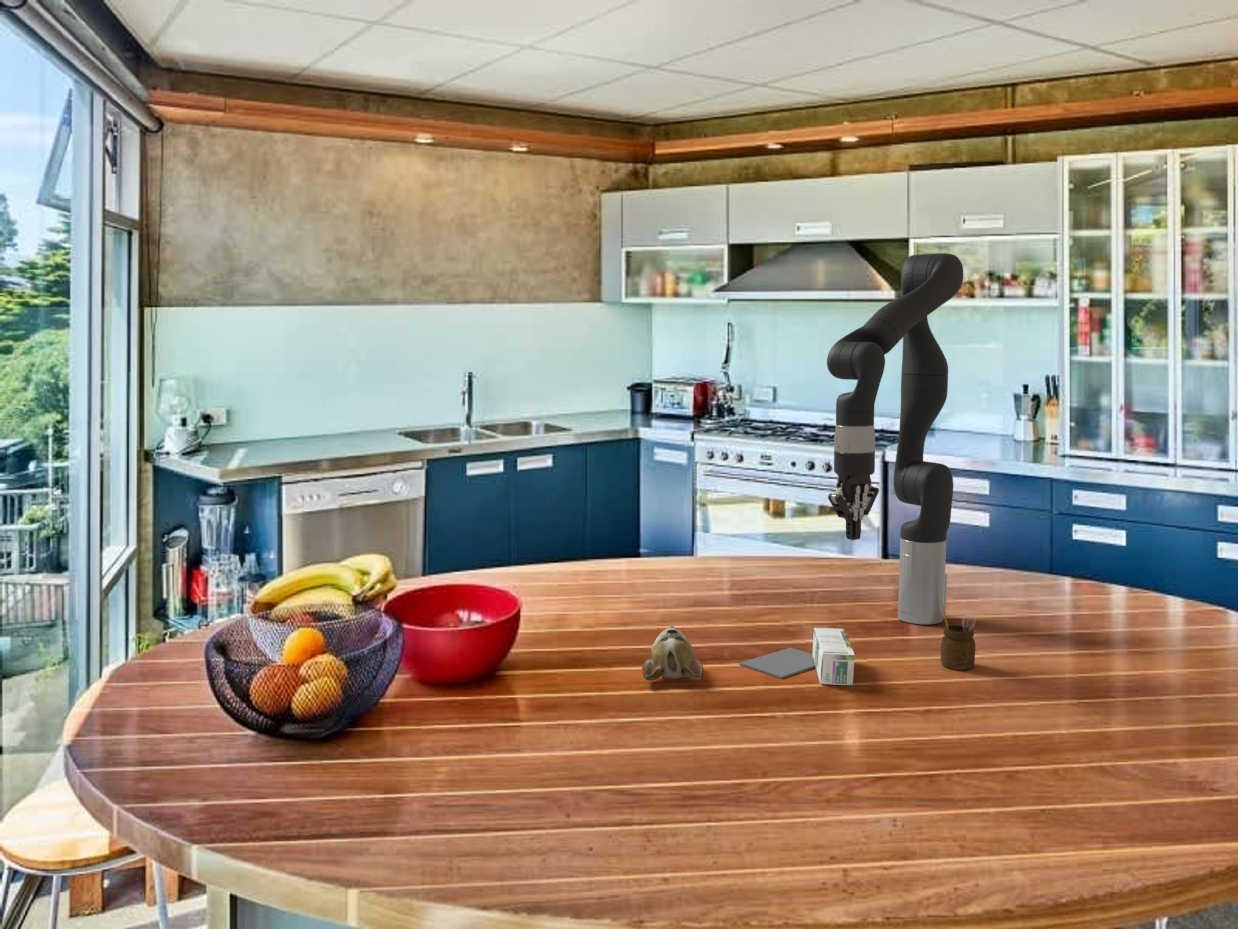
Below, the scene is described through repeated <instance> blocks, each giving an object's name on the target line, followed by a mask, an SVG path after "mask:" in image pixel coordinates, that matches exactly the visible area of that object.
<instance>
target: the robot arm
mask: <svg viewBox="0 0 1238 929" xmlns="http://www.w3.org/2000/svg"><path fill="white" fill-rule="evenodd" d="M963 281H964V267H963V264H962V261H961V260H960V258H959V257H958V256H956V255H955V254H953V253H947V252H946V253H945V252H943V253H941V252H940V253H939V252H938V253H925V254H924V253H921V254H912V255H910V256H908V257H907V258H906V259H905V261H904V263H903V265H902V269H901V275H900V293H901V294H900V296H899V297H898V298H896V299H894V300H893V299H892V301H890V302H888V303H886V304H885V305H883V306H882V307H881V308H879V309H878V310H877V311H876V312H874V314H873V315H872V316H871V317H870V318H869V319H868V320H867V321H866V322H865V323H864V325H863V326H860V327H859V328H858V327H857V329H855V330H853V331H851V332H850V333H848V334H846V335H844V336H843V337H840V339H838V340H837V341H836V342H835V343H834V344H833V345H832V346H831V348H830V350H829V352H828V354H827V357H826V367H827V370H828V372H829V373H830V375H832V376H833V377H834V378H836V379H840V380H847V381H848V380H853V381H854V380H855V381H857V382H856V385H855V387H854V389H853V391H850V392H849V391H848V392H844V393H841V394H839V395H838V396H837V398H836V401H835V402H836V403H835V430H834V431H835V432H834V438H833V441H834V442H833V443H834V444H833V447H834V448H833V471H834V472H833V473H835V474H836V475H837V481H836V490H835V491H834V492H833V493H831V492H830V493H828V495H827V499H828V501H829V502H830V504H831V506H832V508H833V510H834V511H835V514H836V515H837V517H838V518H842V519H843V520H845V536H846V539H847V540H849V541H850V540H851V541H856V540H860V539H861V534H862V520H864V517H865V516H868V515H869V514H870V512H871V510H872V507H873V505H874V503H875V501H876V499H877V496H878V495H879V491H880V489H879V487H877V486H873V484H872V479H871V475H873V474H874V473H875V469H876V463H875V462H876V432H875V404H876V400H877V397H878V396H877V395H878V391H879V389H880V388H879V387H880V384H881V381H882V379H883V374H884V372H885V367H886V357H885V355H887V354H888V353H889V352H891V351H892V350H893V348H895V347H896V346H897V345H898V343H900V341H901V340H902V357H901V358H902V361H901V377H900V378H901V379H900V412H899V413H900V415H899V429H898V430H899V431H898V440H897V448H896V454H895V462H894V470H893V471H894V472H893V491H894V494H895V496H896V499H897V500H899V501H900V502H901V503H903V504H908V505H914V506H919V507H920V510H919V512H920V513H919V516H918V517H917V518H916V519H914V520H910V521H909V520H908V521H906V522H903V523H902V524H901V525H900V532H899V533H900V536H899V537H900V538H899V540H900V541H899V568H898V569H899V570H898V572H899V574H898V596H897V597H898V600H897V601H898V602H897V618H898V619H899V620H900V621H902V622H905V623H908V624H914V625H915V624H916V625H936V624H941V623H942V622H944V619H945V618H944V614H943V610H942V605H941V600H942V604H943V607H944V611H945V615H946V611H947V608H946V607H947V606H946V605H947V586H948V585H947V583H948V582H947V581H948V575H947V573H946V561H947V558H946V557H947V534H948V531H949V527H950V524H951V517H952V505H953V496H954V478H953V473H952V471H951V469H950V468H949V467H948V466H947V465H946V464H943V463H939V462H932V461H926V460H924V452H925V451H924V450H925V442H926V439H927V438H926V437H927V436H928V435H927V434H928V432H929V431H930V428H931V426H932V425H933V424H934V422H935V420H937V418H938V416H939V415H940V412H941V411H942V409H943V408H944V406H945V403H946V401H947V398H948V387H949V365H948V361H947V358H946V356H945V354H944V352H943V349H942V348H941V347H940V344H939V343H938V341H937V340H936V338H935V335H934V333H933V332H932V329H931V328H930V324H929V319H928V316H929V315H930V314H931V313H933V312H934V311H935V310H937V309H938V308H940V307H941V306H943V305H944V304H945V303H947V302H949V301H950V300H951V299H953V298H954V297H955V296H956V295H957V294H958V292H959V291H960V289H961V288H962V285H963Z"/></svg>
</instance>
